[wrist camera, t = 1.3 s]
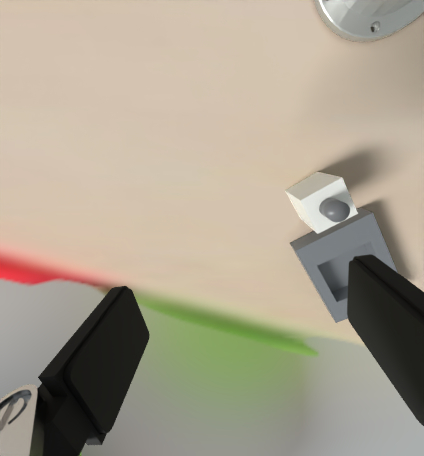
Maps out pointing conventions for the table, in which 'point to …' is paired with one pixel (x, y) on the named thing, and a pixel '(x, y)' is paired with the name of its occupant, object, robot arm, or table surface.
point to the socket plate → (340, 257)
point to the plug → (322, 201)
